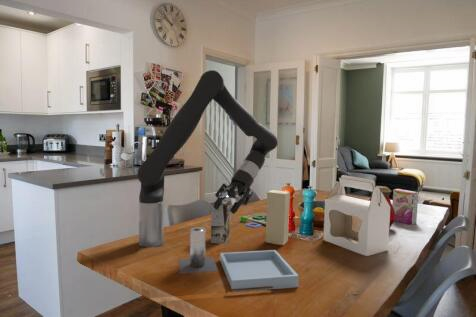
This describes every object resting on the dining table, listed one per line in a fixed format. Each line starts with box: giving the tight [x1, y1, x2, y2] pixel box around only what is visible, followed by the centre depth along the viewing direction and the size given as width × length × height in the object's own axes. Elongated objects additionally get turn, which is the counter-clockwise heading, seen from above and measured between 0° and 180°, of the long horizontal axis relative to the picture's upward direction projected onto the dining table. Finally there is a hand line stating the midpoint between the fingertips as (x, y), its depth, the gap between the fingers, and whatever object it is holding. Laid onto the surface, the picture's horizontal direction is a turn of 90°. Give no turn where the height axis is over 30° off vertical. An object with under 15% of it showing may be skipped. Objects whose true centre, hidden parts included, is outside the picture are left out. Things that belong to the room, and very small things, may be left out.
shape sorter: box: [240, 212, 300, 229], centre depth 176 cm, size 34×19×5 cm, turn 125°
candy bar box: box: [391, 188, 419, 226], centre depth 177 cm, size 11×5×16 cm, turn 34°
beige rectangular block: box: [265, 189, 291, 246], centre depth 142 cm, size 8×7×21 cm
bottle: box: [368, 185, 397, 230], centre depth 165 cm, size 16×14×20 cm
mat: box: [178, 256, 219, 275], centre depth 114 cm, size 12×12×1 cm
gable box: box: [323, 174, 390, 257], centre depth 139 cm, size 22×13×28 cm, turn 32°
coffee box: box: [210, 200, 232, 245], centre depth 142 cm, size 9×6×16 cm
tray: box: [219, 249, 300, 293], centre depth 110 cm, size 20×22×4 cm
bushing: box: [189, 226, 206, 268], centre depth 114 cm, size 5×5×12 cm
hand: (223, 210), depth 121 cm, fingers open, 8 cm apart
